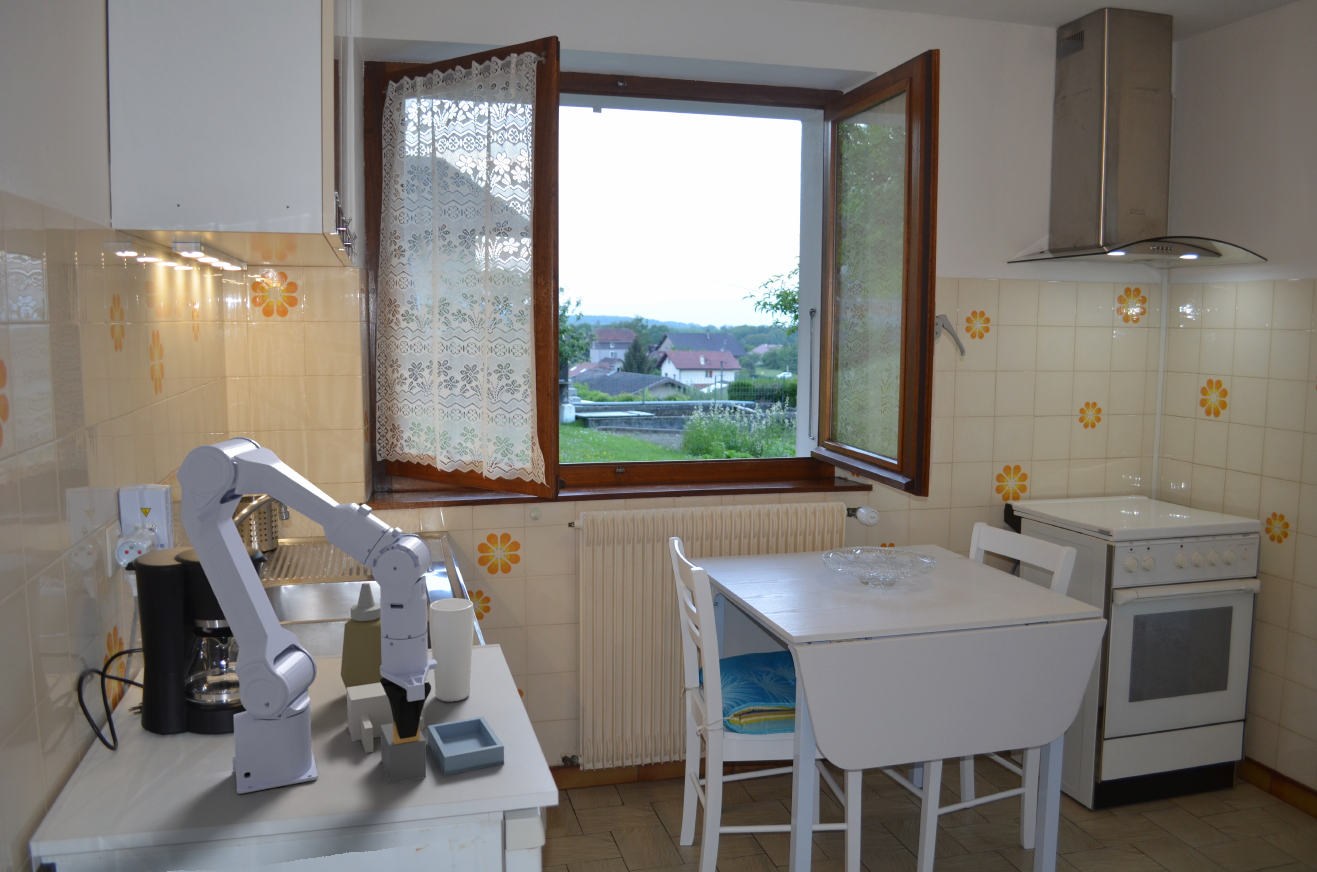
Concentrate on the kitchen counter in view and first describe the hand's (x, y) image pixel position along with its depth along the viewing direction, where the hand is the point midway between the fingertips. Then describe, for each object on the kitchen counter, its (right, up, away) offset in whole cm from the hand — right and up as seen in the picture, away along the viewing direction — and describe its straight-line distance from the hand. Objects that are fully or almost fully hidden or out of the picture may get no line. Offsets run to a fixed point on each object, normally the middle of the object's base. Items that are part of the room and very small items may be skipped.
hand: (406, 733), depth 120 cm
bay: (-6, -4, +13) cm, 15 cm away
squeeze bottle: (-13, -3, +27) cm, 30 cm away
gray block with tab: (-1, -6, +3) cm, 6 cm away
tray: (+6, -5, +8) cm, 11 cm away
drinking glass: (0, -3, +27) cm, 27 cm away
